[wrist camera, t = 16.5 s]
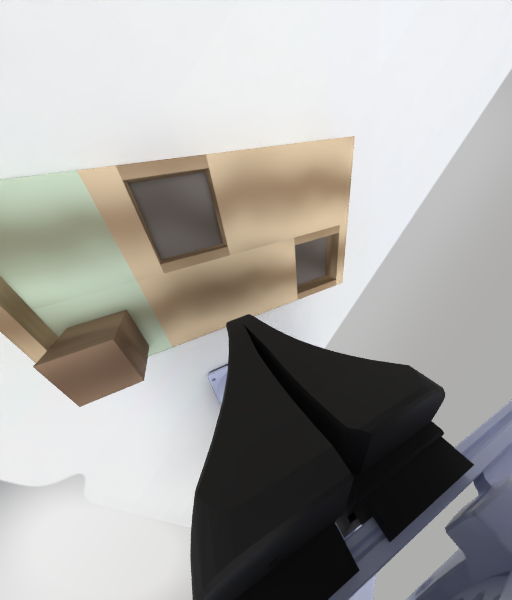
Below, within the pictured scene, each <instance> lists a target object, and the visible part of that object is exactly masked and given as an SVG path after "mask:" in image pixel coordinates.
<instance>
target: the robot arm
mask: <svg viewBox="0 0 512 600" xmlns="http://www.w3.org/2000/svg"><path fill="white" fill-rule="evenodd" d="M226 327H227V331H228V336H229V360H228V365H227V366H225V367H222V368H220V369H218V370H215V371H213V372H211V373H209V374H208V378H209V381H210V383H211V385H212V387H213V389H214V392H215V394H216V396H217V398H218V400H219V402H220V405H221V409H220V413H219V417H218V421H217V424H216V428H215V432H214V435H213V439H212V442H211V445H210V449H209V452H208V455H207V458H206V460H205V463H204V466H203V469H202V472H201V475H200V478H199V481H198V484H197V487H196V490H195V498H194V506H193V515H192V527H191V574H192V593H193V600H374V584H375V574H376V573H377V572H378V571H379V570H380V569H381V568H382V567H383V566H384V565H385V564H386V563H387V562H388V561H390V560H391V558H393V557H394V556H395V555H396V554H397V553H398V552H399V551H400V550H401V549H402V548H403V547H404V546H405V545H406V544H407V543H409V542H410V540H412V539H413V538H414V537H415V536H416V535H417V534H418V533H419V532H420V531H421V530H422V529H423V528H424V527H425V526H426V525H427V524H428V523H429V522H431V521H432V519H434V518H435V517H436V516H437V515H438V514H439V513H440V512H441V511H442V510H443V509H444V508H445V507H446V506H447V505H448V504H449V503H450V502H451V501H453V500H454V499H455V498H456V497H457V496H458V495H459V494H460V493H461V492H462V491H463V490H464V489H465V488H466V487H467V486H468V485H469V484H470V483H471V482H472V481H474V485H475V487H476V489H477V490H478V493H479V496H477V497H476V498H475V499H474V500H472V501H471V502H470V503H469V504H467V505H466V506H465V507H463V508H462V509H461V510H460V511H459V512H458V513H457V514H456V515H455V516H454V517H453V519H452V520H451V521H450V522H449V524H448V525H447V526H446V527H445V529H446V533H447V534H448V535H449V536H450V538H451V539H452V540H453V541H454V542H455V543H456V545H457V546H458V547H459V549H458V550H457V551H456V552H455V553H454V554H453V555H452V556H451V557H450V558H449V559H448V560H447V561H446V562H445V563H444V564H443V565H442V566H441V567H440V568H438V569H437V570H436V571H435V572H434V573H433V574H432V575H431V576H430V577H429V578H428V579H427V580H426V581H425V582H424V583H423V584H422V585H421V586H420V587H419V588H418V589H417V590H415V592H413V593H412V594H411V595H410V596H409V597H408V598H407V599H406V600H512V400H511V401H509V402H508V404H506V405H505V406H503V407H502V408H501V409H500V410H499V411H498V412H496V413H495V414H494V415H493V416H492V417H490V418H489V419H488V420H487V421H486V422H485V423H483V424H482V425H481V426H480V427H479V428H477V429H476V430H475V431H474V432H473V433H471V434H470V435H469V436H468V437H467V438H466V439H464V440H463V441H462V442H461V443H459V444H458V445H457V446H456V447H455V448H454V447H453V446H452V445H451V444H449V443H448V442H447V441H446V440H445V439H443V438H442V437H441V436H442V435H443V434H444V432H443V431H442V430H441V429H440V428H439V427H438V426H437V425H435V424H434V423H433V422H432V421H431V420H432V419H433V417H434V416H435V414H436V412H437V411H438V409H439V407H440V406H441V404H442V402H443V400H444V398H445V392H444V389H443V388H442V387H440V386H439V385H438V384H436V383H435V382H433V381H432V380H430V379H429V378H427V377H425V376H424V375H423V374H421V373H419V372H418V371H417V370H415V369H413V368H412V367H410V366H409V365H402V364H395V363H389V362H382V361H375V360H369V359H364V358H359V357H355V356H350V355H346V354H341V353H337V352H334V351H330V350H327V349H323V348H320V347H317V346H314V345H311V344H308V343H305V342H303V341H300V340H297V339H295V338H293V337H291V336H288V335H286V334H284V333H282V332H280V331H278V330H276V329H274V328H272V327H271V326H269V325H267V324H265V323H264V322H262V321H260V320H259V319H257V318H255V317H254V316H252V315H250V314H247V315H245V316H242V317H239V318H237V319H234V320H231V321H229V322H227V323H226ZM213 378H214V379H213Z"/></svg>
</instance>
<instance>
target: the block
mask: <svg viewBox="0 0 512 600" xmlns="http://www.w3.org/2000/svg"><path fill="white" fill-rule="evenodd" d="M148 352H149V345H148V343H147V341H146V340H145V338H144V337H143V335H142V333H141V332H140V330H139V329H138V327H137V325H136V324H135V322H134V321H133V319H132V317H131V316H130V314H129V313H128V311H127V310H123V311H120V312H117V313H114V314H110V315H107V316H104V317H101V318H97V319H94V320H91V321H88V322H85V323H81V324H78V325H75V326H72V327H68V328H67V329H66V330H65V331H64V332H63V333H62V334H61V336H60V337H59V338H58V339H57V340H56V341H55V342H54V344H53V345H52V346H51V347H50V348H49V349H48V350H47V352H46V353H45V354H44V355H43V356H42V357H41V358H40V359H39V361H38V362H37V363H36V364H35V365H34V366H33V367H34V368H35V369H36V370H37V371H39V372H40V373H41V374H42V375H43V376H44V377H45V378H47V379H48V380H49V381H50V382H51V383H52V384H54V385H55V386H56V387H57V388H58V389H59V390H61V391H62V392H63V393H64V394H65V395H66V396H68V397H69V398H70V399H71V400H72V401H73V402H75V403H76V404H77V405H78V406H79V407H81V406H83V405H85V404H88V403H90V402H93V401H95V400H98V399H100V398H103V397H105V396H107V395H110V394H112V393H115V392H117V391H120V390H122V389H125V388H127V387H129V386H132V385H134V384H137V383H139V382H142V381H144V376H145V370H146V364H147V358H148Z"/></svg>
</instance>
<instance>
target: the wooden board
mask: <svg viewBox="0 0 512 600" xmlns="http://www.w3.org/2000/svg"><path fill="white" fill-rule="evenodd" d="M354 137H355V136H352V137H344V138H336V139H328V140H320V141H312V142H303V143H295V144H287V145H279V146H271V147H263V148H255V149H246V150H238V151H230V152H222V153H214V154H206V155H198V156H189V157H181V158H173V159H165V160H157V161H149V162H141V163H132V164H124V165H116V166H108V167H100V168H92V169H84V170H76V171H67V172H59V173H51V174H43V175H35V176H27V177H19V178H10V179H2V180H0V332H1V333H2V334H4V335H5V336H6V337H7V338H8V339H9V340H10V341H11V342H13V343H14V344H15V345H16V346H17V347H18V348H19V349H21V350H22V351H23V352H24V353H25V354H26V355H27V356H28V357H30V358H31V359H32V360H33V361H34V362H35V363H37V362H38V361H39V359H40V358H41V357H42V356H43V355H44V354H45V353H46V352H47V350H48V349H49V348H50V347H51V346H52V345H53V344H54V342H55V341H56V340H57V339H58V338H59V337H60V336H61V334H62V333H63V332H64V331H65V330H66V329H67V328H68V327H72V326H75V325H78V324H81V323H85V322H88V321H91V320H94V319H97V318H101V317H104V316H107V315H110V314H114V313H117V312H120V311H123V310H127V311H128V313H129V314H130V316H131V317H132V319H133V321H134V322H135V324H136V325H137V327H138V329H139V330H140V332H141V333H142V335H143V337H144V338H145V340H146V341H147V343H148V345H149V352H148V356H151V355H154V354H156V353H159V352H162V351H164V350H167V349H170V348H172V347H175V346H177V345H180V344H183V343H185V342H188V341H191V340H193V339H196V338H198V337H201V336H204V335H206V334H209V333H212V332H214V331H217V330H219V329H222V328H225V327H226V323H227V322H229V321H231V320H234V319H237V318H239V317H242V316H245V315H247V314H250V315H252V316H256V315H259V314H262V313H264V312H267V311H269V310H272V309H275V308H277V307H280V306H283V305H285V304H288V303H290V302H293V301H296V300H298V299H301V298H304V297H306V296H309V295H311V294H314V293H317V292H319V291H322V290H325V289H327V288H330V287H332V286H335V285H338V284H340V283H342V281H343V269H344V257H345V245H346V233H347V221H348V209H349V197H350V185H351V173H352V161H353V149H354Z"/></svg>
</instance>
